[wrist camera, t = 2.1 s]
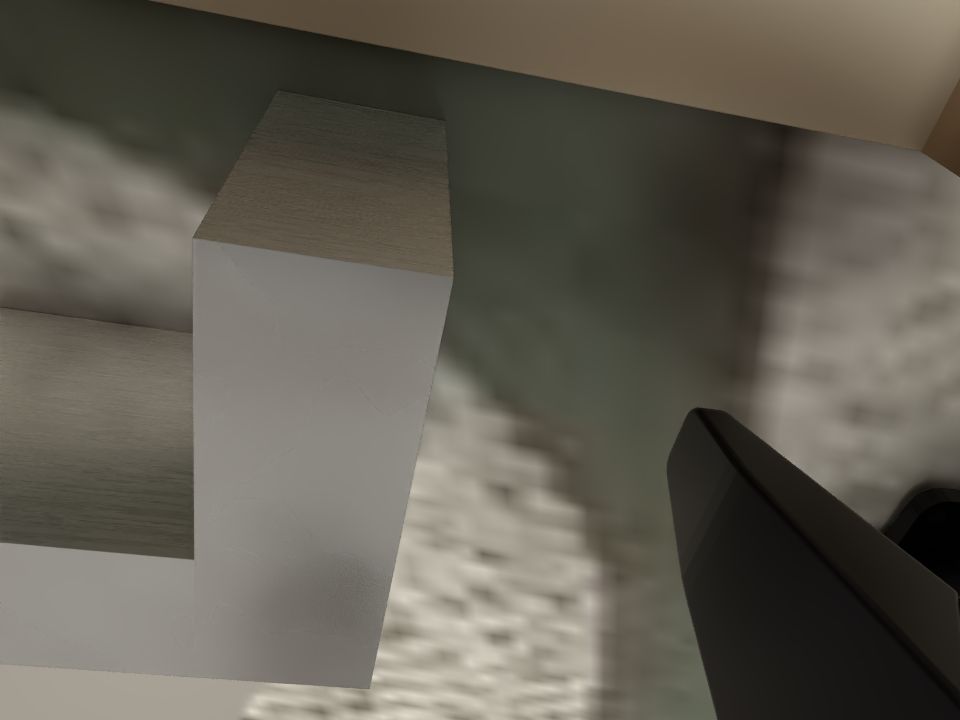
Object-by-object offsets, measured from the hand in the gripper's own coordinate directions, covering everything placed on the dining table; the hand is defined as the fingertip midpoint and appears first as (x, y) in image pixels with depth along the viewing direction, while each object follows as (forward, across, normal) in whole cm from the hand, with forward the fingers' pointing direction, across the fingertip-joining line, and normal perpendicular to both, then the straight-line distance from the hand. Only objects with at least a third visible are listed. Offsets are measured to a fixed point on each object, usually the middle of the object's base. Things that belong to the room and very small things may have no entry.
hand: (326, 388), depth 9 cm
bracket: (+4, +2, +1) cm, 5 cm away
